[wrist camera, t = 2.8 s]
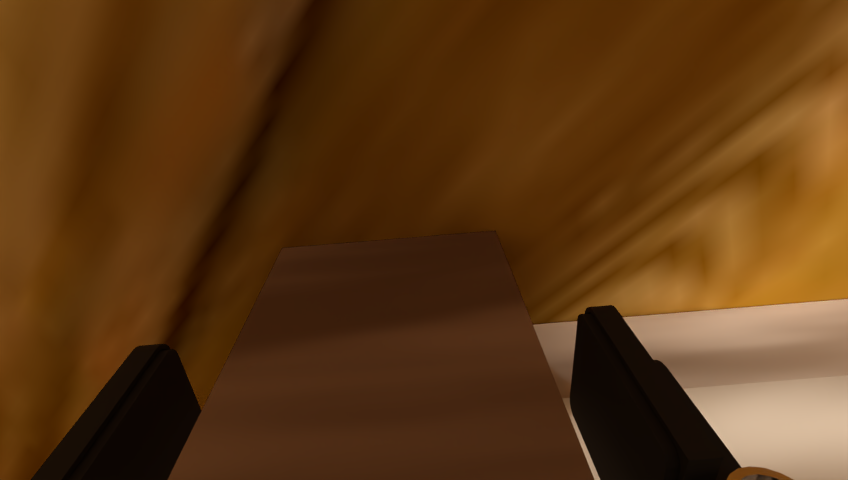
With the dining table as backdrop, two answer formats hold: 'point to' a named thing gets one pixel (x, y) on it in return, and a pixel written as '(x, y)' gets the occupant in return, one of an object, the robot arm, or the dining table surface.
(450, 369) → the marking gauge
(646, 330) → the birch plank
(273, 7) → the dining table surface
